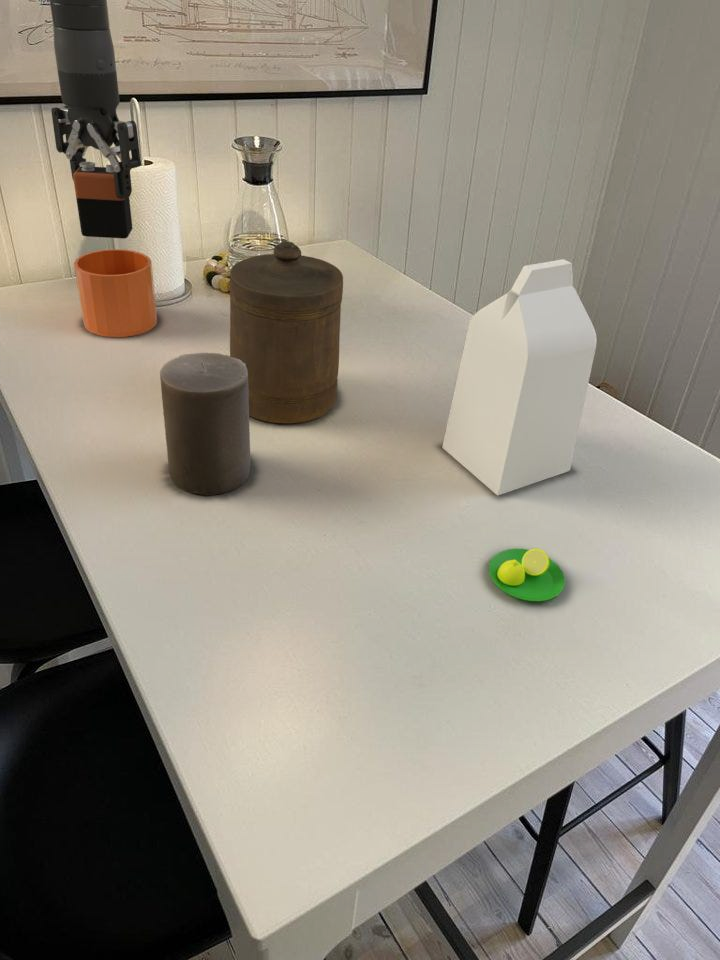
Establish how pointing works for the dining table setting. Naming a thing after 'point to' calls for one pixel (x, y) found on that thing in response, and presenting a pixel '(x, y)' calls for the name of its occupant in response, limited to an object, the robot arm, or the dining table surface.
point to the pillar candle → (206, 422)
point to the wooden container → (287, 333)
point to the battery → (100, 203)
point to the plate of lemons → (527, 574)
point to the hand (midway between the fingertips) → (102, 191)
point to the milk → (523, 381)
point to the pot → (116, 292)
